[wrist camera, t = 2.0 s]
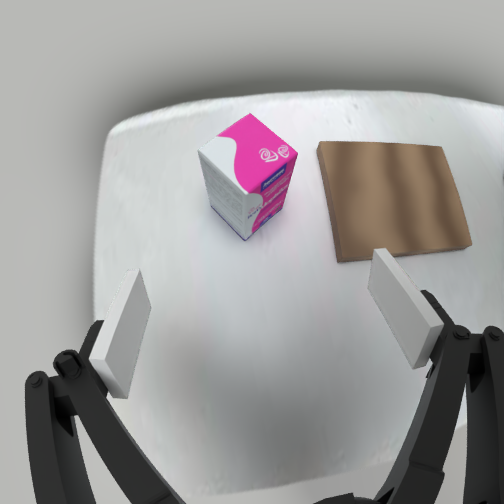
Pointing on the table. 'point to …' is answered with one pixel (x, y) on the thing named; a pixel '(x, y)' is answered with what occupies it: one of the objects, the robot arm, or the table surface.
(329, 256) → the table surface
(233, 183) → the supplement box
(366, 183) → the brown flat block
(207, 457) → the table surface
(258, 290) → the table surface
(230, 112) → the table surface
